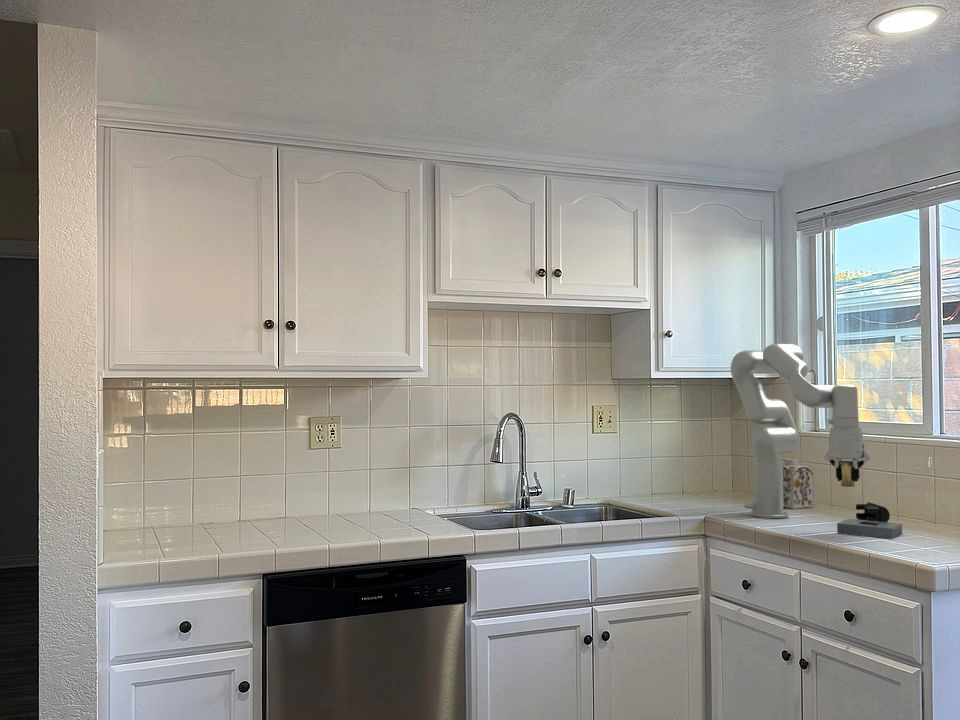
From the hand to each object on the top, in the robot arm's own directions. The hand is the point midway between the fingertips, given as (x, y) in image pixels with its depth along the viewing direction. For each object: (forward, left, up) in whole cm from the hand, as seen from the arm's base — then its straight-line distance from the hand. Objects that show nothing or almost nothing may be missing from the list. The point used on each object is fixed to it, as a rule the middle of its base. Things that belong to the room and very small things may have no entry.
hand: (847, 480), depth 268 cm
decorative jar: (-33, +43, -16) cm, 57 cm away
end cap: (+2, +19, -16) cm, 26 cm away
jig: (+6, 0, -16) cm, 17 cm away
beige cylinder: (0, 0, -2) cm, 2 cm away
